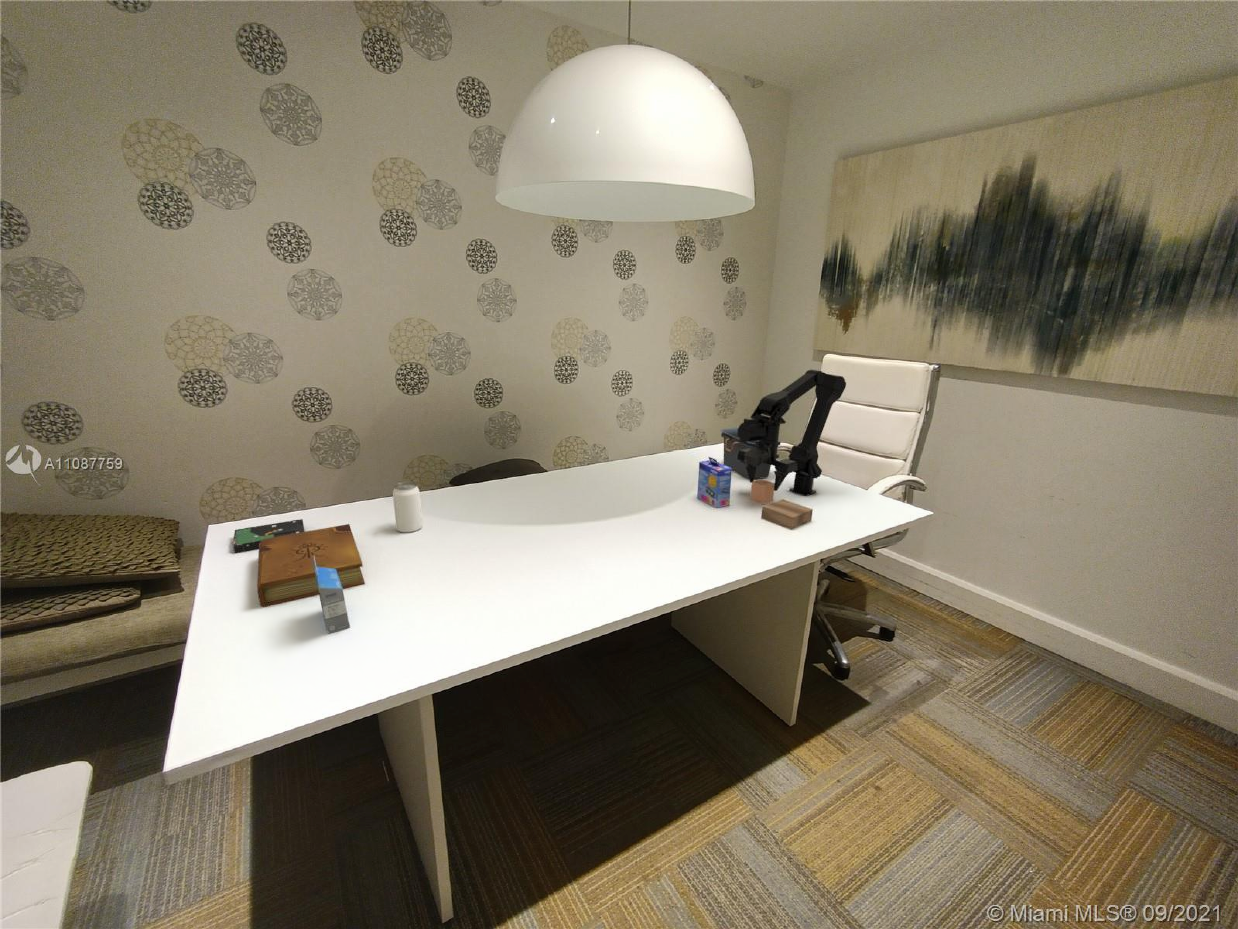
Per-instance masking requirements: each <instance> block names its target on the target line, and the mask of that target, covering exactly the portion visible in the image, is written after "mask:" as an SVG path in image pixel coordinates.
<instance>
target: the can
mask: <svg viewBox="0 0 1238 929" xmlns="http://www.w3.org/2000/svg"><path fill="white" fill-rule="evenodd" d="M393 488H394V489H393V491H392V498H393V499H392V500H393V508H394V517H395V518H394V519H395V527H396V530H397V531H398V532H400V533H403V534H404V533H405V534H407V533H409V534H410V533H414V532H418V531H419V530H421V529H422V527H423V517H422V516H423V515H422V505H421V503H422V502H421V493H420V489H419V487H418V484H417V483H415V482H414V481H412V482H411V481H406V482H405V481H404V482H400V483H396V484H394V486H393Z"/></svg>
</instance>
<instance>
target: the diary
mask: <svg viewBox="0 0 1238 929" xmlns="http://www.w3.org/2000/svg"><path fill="white" fill-rule="evenodd" d="M314 555H315V562H316V567H324V568H331V569H336V570H337V573H338V576H339V579H340V582H341V585H342V588H343V590H346V589H351V588H355V587H360V586H363V585H364V586H365V585H366V583H365V579H364V575H363V573H362V570H361V568H362V567H363V561H362V558H361V554H360V552H359V549H358V546H357V543H356V541H355V538H354V534H353V531H352V528H351V524H350V523H348V524H347V523H346V524H342V525H341V524H340V525H337V526H336V525H335V526H330V527H325V528H319V529H313V530H308V531H307V530H306V531H305V532H301V533H295V534H289V535H284V536H278V537H272V538H266V539H262V541H261V542H260V543H259V549H258V559H257V560H258V562H257V581H256V592H257V596H258V601H259V605H260V607H262V608H267V607H268V608H269V607H271V606H276V605H281V604H285V603H289V602H293V601H298V600H302V599H306V598H311V597H315V596H319V591H318V586H317V581H316V576H315V571H314Z"/></svg>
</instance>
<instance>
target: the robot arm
mask: <svg viewBox="0 0 1238 929" xmlns="http://www.w3.org/2000/svg"><path fill="white" fill-rule="evenodd" d="M846 386H847V382H846V380H845V377H844V376H841V375H835V374H830V373H826V372H824V371H822V370H817V369H809V370H806V371H805V373H804V374H803V375H801V376H800V377H799V378H797V379H796V380H794V381H793V382H791V383H790V384H789V385H787V386H786V387H784V388H783V389H782V390H780V391H776V392H773V393H772V392H771V393H769V394H767V395H765V396H763V397H762V398H761V399H760V400H759V403H758V404H757V406H756V408H755V409H754V410H753V412H752V414H751V416H750V418H748V417H747V418H743V422H741V423H740V424H739V426H738V427H739V428H738V427H737V428H738V436H739V438H740V440H741V441H743V442H749V441H756V440H759V441H756V443H755V447H754V448H752V449H749V448H748V449H743V450H740V451H739V452H738V453H737V459H739V460H740V462H741V463H743V464H744V465H745V467H746V469H747V473H748V477H749V479H748V480H749V483H751V484H752V482H753V481H755V479H754V478H755V473H756V468H757V467H758V466H760V464H761V463H763V464H765V463H767V464H770V465H771V466H774V469H775V470H774V471H773V473H774V483H775V484H774V492H776V491H778V490H779V489H780V487H781V485H782V484H783V483H784V480H785V479H786V478H787V476H788V475H789V474H790V473H795V474H794V475H795V476H794V480H793V486H792V487H791V488H789V489H788V492H789V491H790V492H792V493H795V494H798V495H802V496H804V497H806V496H809V495H812V494H816V493H817V490H815V489H813V488H814V480H815V479H818V478H820V477H821V474H822V473H823V469H821V466H819V464H818V459H819V453H818V445H819V441H820V440H821V436H822V433H823V430H824V429H825V426H826V423H827V420H828V418H829V414H830V411H831V410H832V407H833V405H834V404H835V403H836V402H837V401H839V399H840V398H841V397H842V395H843V393H844V391H845V389H846ZM813 388H815V389H814V392H815V397H816V400H815V404H814V406H813V409H812V412H811V415H810V418H809V420H808V423H807V425H806V427H805V431H804V433H803V436H802V439H801V442H800V443H798V444H797V445H792V447H791V450H790V453H789V455H788V459H787V458H784V459H780V460H779V458H780V454H778V447H779V446H781V443H782V442H781V441H778V439H779V436H780V429H781V425H782V424H786V420H785V419H784V418H783V417H784V416H785V415H786V414H787V412H788V411H790V408H791V405H792V404H793V403H794V402H795V401H797V400H798V399H799V398H801V397H802V396H804V395H805V394H806V393H807V392H809V391H811V390H812V389H813ZM770 461H771V462H770Z"/></svg>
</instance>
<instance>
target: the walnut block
mask: <svg viewBox="0 0 1238 929" xmlns="http://www.w3.org/2000/svg"><path fill="white" fill-rule="evenodd" d="M813 510H814V509H813V508H810V507H806V506H803V505H800V504H798V503H795V502H791V501H788V500H787V499H779V500H777V501H775V502H774V501H773V502H770V503H769V504H768V503H767V504H766V505H763V506H762V508H761V517H760V518H761V519H762V520H765V521H767V522H769V523H771V524H775V525H777V526H780V527H783V528H785V529H787V530H795V529H796V528H799V527H800V526H804V525H806V524H809V523H811V522H812V518H813V517H812V516H813Z"/></svg>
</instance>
